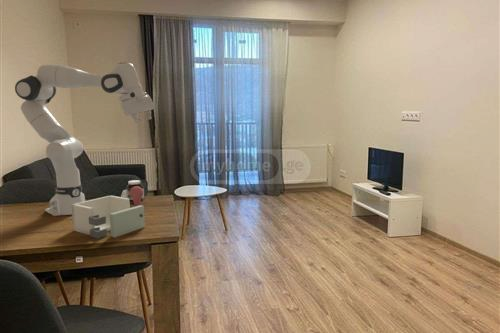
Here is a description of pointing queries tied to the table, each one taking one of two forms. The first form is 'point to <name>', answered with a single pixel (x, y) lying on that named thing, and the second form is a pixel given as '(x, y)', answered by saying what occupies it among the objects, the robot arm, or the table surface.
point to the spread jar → (131, 184)
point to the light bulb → (136, 195)
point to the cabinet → (97, 214)
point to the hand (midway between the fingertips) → (144, 121)
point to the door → (127, 220)
